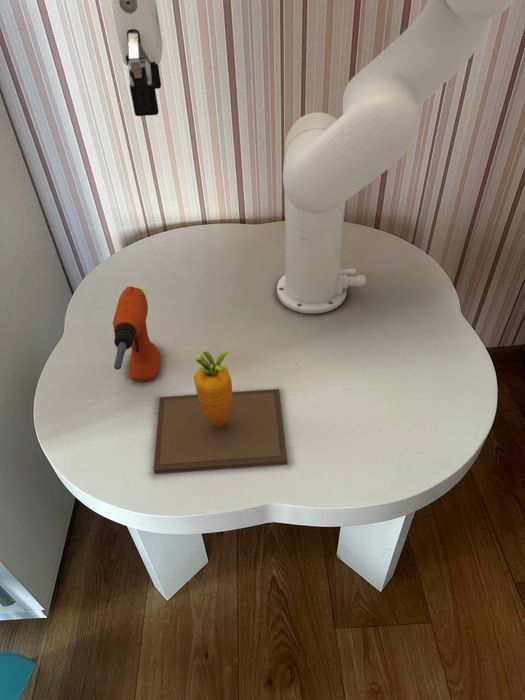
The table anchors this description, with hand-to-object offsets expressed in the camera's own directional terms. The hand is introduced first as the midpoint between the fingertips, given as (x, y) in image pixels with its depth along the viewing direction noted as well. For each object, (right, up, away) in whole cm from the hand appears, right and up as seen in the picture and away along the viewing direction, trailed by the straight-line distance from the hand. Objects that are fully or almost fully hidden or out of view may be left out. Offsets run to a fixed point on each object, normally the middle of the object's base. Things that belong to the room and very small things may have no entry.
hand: (148, 100), depth 80 cm
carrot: (+10, -47, 0) cm, 48 cm away
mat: (+10, -47, +1) cm, 48 cm away
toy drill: (-2, -41, +8) cm, 42 cm away
